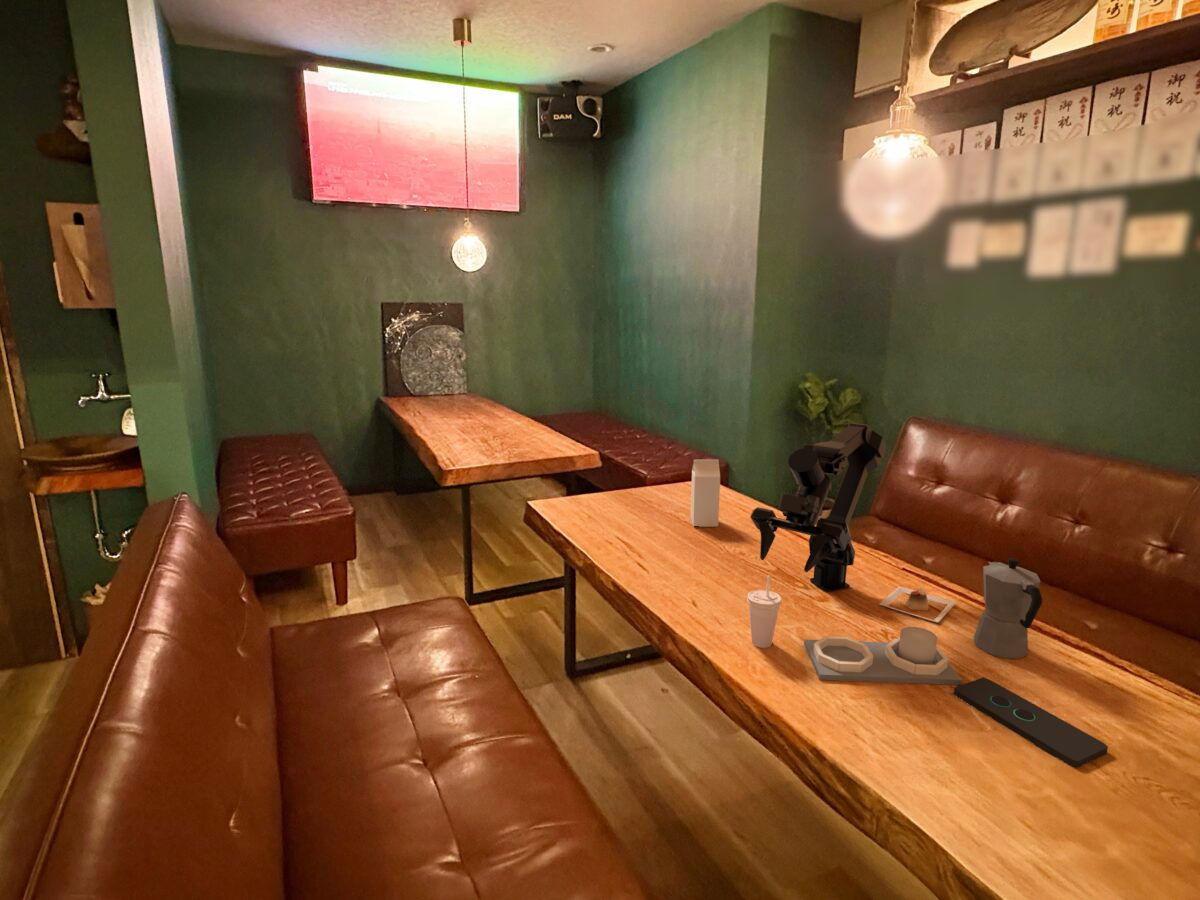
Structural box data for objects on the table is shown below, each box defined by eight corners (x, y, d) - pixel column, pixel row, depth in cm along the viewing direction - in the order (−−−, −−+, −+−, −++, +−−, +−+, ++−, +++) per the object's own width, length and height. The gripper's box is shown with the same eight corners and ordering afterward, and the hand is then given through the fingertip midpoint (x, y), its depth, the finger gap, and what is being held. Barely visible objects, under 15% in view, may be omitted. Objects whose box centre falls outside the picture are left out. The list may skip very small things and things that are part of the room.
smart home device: (985, 675, 116) (1110, 745, 99) (983, 684, 117) (1108, 755, 99) (951, 687, 113) (1075, 761, 95) (950, 696, 113) (1073, 771, 96)
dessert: (878, 608, 144) (880, 588, 143) (898, 590, 153) (900, 571, 152) (937, 627, 137) (940, 605, 135) (955, 607, 145) (958, 586, 144)
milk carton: (718, 527, 192) (720, 463, 188) (693, 527, 192) (695, 463, 188) (714, 518, 199) (716, 456, 194) (690, 518, 199) (692, 456, 195)
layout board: (819, 679, 117) (821, 648, 116) (804, 644, 129) (806, 615, 128) (961, 684, 116) (965, 653, 114) (932, 648, 127) (936, 619, 126)
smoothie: (779, 653, 126) (784, 584, 123) (744, 649, 127) (748, 581, 124) (777, 636, 132) (782, 570, 129) (744, 633, 133) (748, 567, 130)
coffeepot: (957, 629, 134) (969, 545, 130) (1004, 629, 134) (1017, 545, 130) (1001, 672, 120) (1016, 578, 115) (1054, 672, 119) (1071, 579, 115)
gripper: (757, 469, 138) (727, 535, 132) (847, 486, 126) (819, 558, 121) (772, 497, 146) (745, 560, 140) (858, 515, 134) (833, 584, 128)
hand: (783, 565), depth 132 cm, fingers open, 9 cm apart
